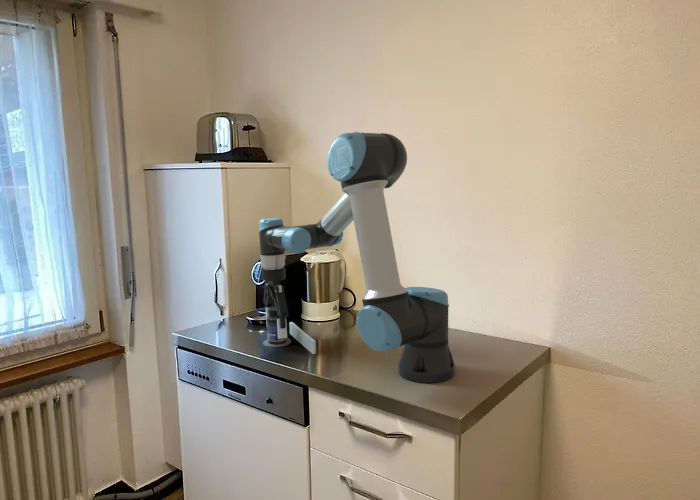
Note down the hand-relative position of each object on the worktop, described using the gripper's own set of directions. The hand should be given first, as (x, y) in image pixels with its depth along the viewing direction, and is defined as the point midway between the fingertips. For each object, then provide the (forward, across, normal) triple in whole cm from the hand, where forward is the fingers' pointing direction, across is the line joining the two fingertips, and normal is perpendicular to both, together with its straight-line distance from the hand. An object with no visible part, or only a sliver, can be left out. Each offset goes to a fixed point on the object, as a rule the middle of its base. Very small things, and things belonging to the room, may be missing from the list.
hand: (276, 332), depth 173 cm
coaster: (+3, 0, 0) cm, 3 cm away
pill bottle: (+3, 0, 0) cm, 3 cm away
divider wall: (+3, -4, -7) cm, 9 cm away
